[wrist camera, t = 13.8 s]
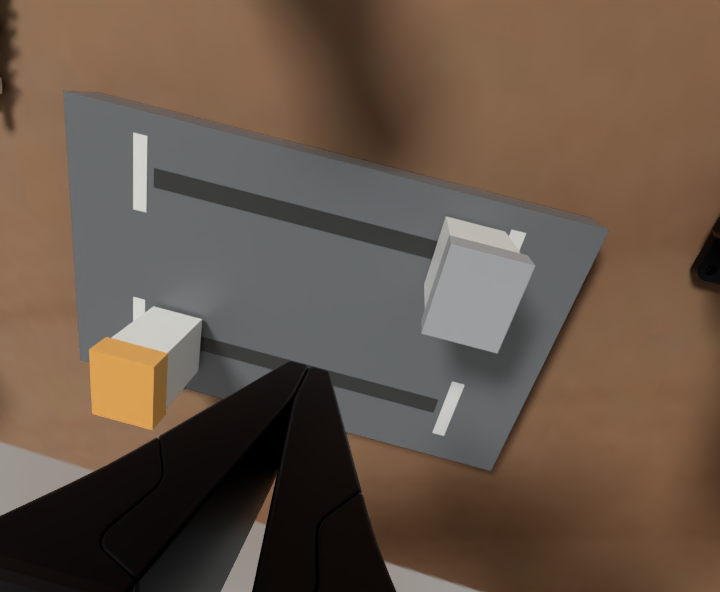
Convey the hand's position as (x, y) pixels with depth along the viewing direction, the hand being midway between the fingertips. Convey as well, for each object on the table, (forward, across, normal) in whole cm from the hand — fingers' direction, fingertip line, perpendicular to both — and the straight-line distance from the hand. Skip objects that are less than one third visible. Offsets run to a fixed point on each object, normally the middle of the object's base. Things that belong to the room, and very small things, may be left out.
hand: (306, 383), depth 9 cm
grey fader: (+10, -4, -1) cm, 11 cm away
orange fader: (+10, +8, +7) cm, 14 cm away
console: (+12, +2, +4) cm, 13 cm away
